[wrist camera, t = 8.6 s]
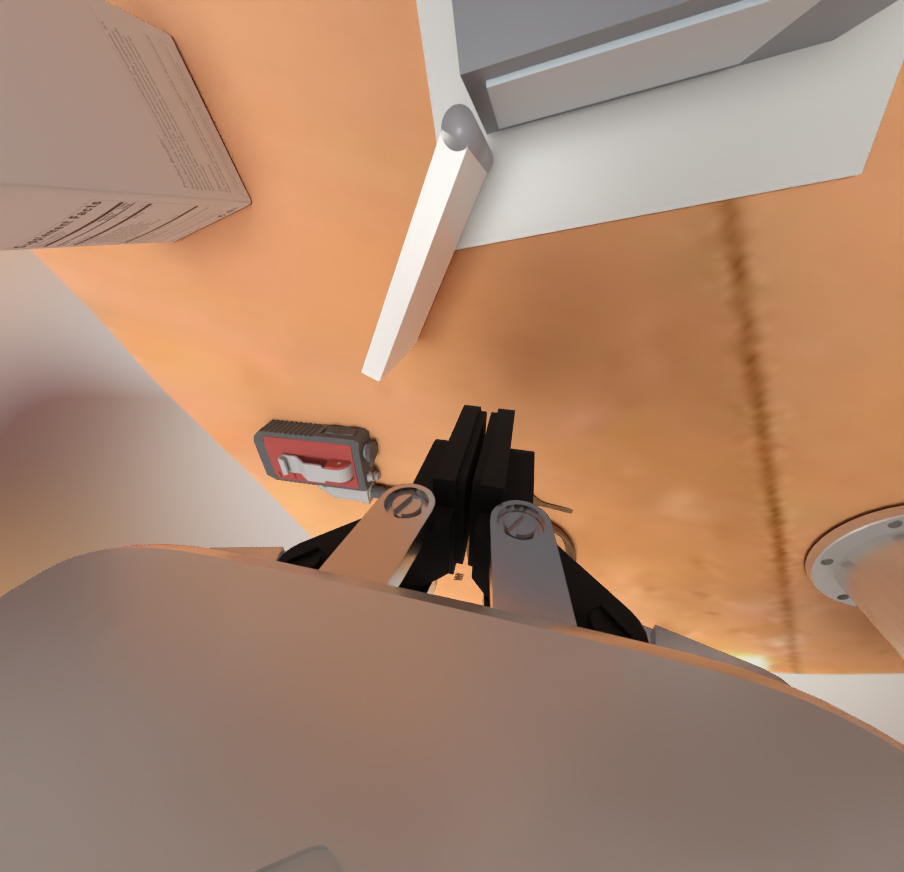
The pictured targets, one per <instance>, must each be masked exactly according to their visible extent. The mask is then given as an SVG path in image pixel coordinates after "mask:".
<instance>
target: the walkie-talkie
mask: <svg viewBox="0 0 904 872" xmlns="http://www.w3.org/2000/svg"><path fill="white" fill-rule="evenodd" d="M254 443H255V445H256V448H257V450H258V453H259V455H260V458H261V460H262V463H263V465H264V468H265V470H266V473H267V474H268V475H269V476H271V477H273V478H275V479H277V480H282V481H283V480H284V481H290V482H299V483H304V484H305V483H307V484H313V485H318V487H319V488H321V489H322V490H324V491H325V492H327V493H328V494H330V495H332V496H333V497H335V498H340V499H347V500H354V501H361V502H363V503H368V504H370V502H371V501H372V499H373V498H380V496H381V495H382V494H383V493H384V492H386V491H387V490H388V489H387V488H384V487H382V486H375V485H374V481H375V480H379V479H380V472H377V471H376V470H375V467H374V460H375V458H376V455H377V444H376V443H375V442H374V441H370V437H369V432H368V431H367V430H366V429H364V428H356V427H346V426H336V425H326V424H324V425H321V424H319V425H317V424H312V423H309V424H307V423H302V422H300V423H298V422H293V421H291V422H288V421H283V420H281V421H279V420H274V419H273V420H272V421H271V422H269V423H268V424H267V425H265V426H264V427H263V428H261V429H260V430H259V431H258V432H257V433H256V434H255V435H254Z"/></svg>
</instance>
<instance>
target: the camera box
mask: <svg viewBox="0 0 904 872" xmlns="http://www.w3.org/2000/svg"><path fill="white" fill-rule="evenodd" d="M416 3H417V10H418V17H419V24H420V31H421V37H422V44H423V51H424V58H425V65H426V72H427V79H428V86H429V93H430V100H431V106H432V113H433V120H434V127H435V134H436V141H437V142H438V139H439V136H440V133H441V123H442V119H443V116H444V114H445V113H446V111H447V110H448V109H449V108H450V107H451V106H453V105H455V104H463V105H465V106H467V107H468V108H469V109H470V110H471V111H472V113H473V115H474V117H475V119H476V121H477V123H478V125H479V127H480V129H481V131H482V133H483V135H484V137H485V139H486V141H487V143H488V145H489V147H490V149H491V151H492V154H493V164H492V167H491V169H490V170H489V172H488V173H487V175H486V177H485V179H484V182H483V184H482V187H481V189H480V191H479V194H478V196H477V199H476V201H475V203H474V206H473V208H472V210H471V213H470V215H469V218H468V220H467V222H466V225H465V227H464V230H463V232H462V234H461V237H460V239H459V242H458V244H457V246H456V249H455V250H459V249H464V248H469V247H475V246H480V245H485V244H491V243H496V242H501V241H507V240H512V239H517V238H523V237H528V236H534V235H539V234H544V233H550V232H555V231H560V230H566V229H571V228H576V227H582V226H587V225H592V224H598V223H603V222H609V221H614V220H619V219H625V218H630V217H635V216H641V215H646V214H651V213H657V212H662V211H667V210H673V209H678V208H684V207H689V206H694V205H700V204H705V203H710V202H716V201H721V200H726V199H732V198H737V197H742V196H748V195H753V194H759V193H764V192H769V191H775V190H780V189H785V188H791V187H796V186H801V185H807V184H812V183H817V182H823V181H828V180H833V179H839V178H844V177H850V176H855V175H860V174H862V172H863V169H864V166H865V164H866V161H867V158H868V155H869V153H870V150H871V147H872V144H873V142H874V139H875V136H876V134H877V131H878V128H879V125H880V123H881V120H882V117H883V115H884V112H885V109H886V106H887V104H888V101H889V98H890V96H891V93H892V90H893V87H894V85H895V82H896V79H897V76H898V74H899V71H900V68H901V66H902V63H903V60H904V0H416Z"/></svg>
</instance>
